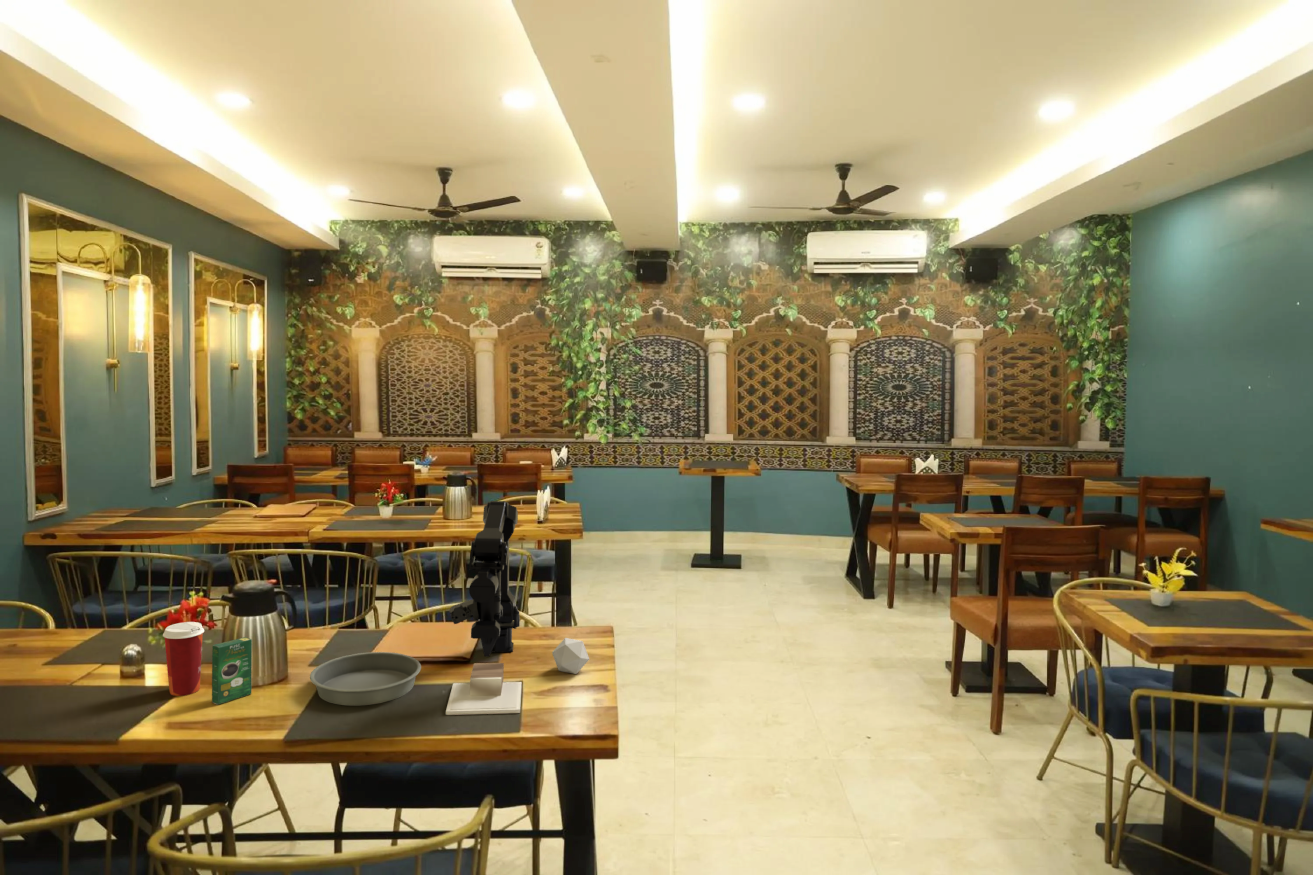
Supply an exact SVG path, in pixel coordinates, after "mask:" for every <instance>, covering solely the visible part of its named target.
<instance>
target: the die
mask: <svg viewBox="0 0 1313 875" xmlns="http://www.w3.org/2000/svg"><path fill="white" fill-rule="evenodd" d="M551 654H552V657H553V659H554V662H555V665H556V667H557V670H558V671H559V672H564V673H568V674H572V675H573V674H574V675H578V673H579V672H580V671H581V670H582V669H583V667H584V666H585V665H586V664H587V663H588V662H589V661H590V657H589V655H588V651H587V648H586V646H585V644H584V641H583V640H579V639H574V638H568V637H564V638H563V639H562V641H561V642H560V643H559V644H558V645H557V646H556V648H554V649H553V651H552V652H551Z"/></svg>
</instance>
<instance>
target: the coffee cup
mask: <svg viewBox="0 0 1313 875" xmlns="http://www.w3.org/2000/svg"><path fill="white" fill-rule="evenodd" d="M202 625H203V624H202V623H201V622H197V621H196V622H195V621H185V622H178V623H174V624H171V625H168V626H167V627H166V628H165V629H164V632H163V634H162V638H164V644H165V646H164V647H165V657H166V658H165V660H166V667H167V668H166V670H167V680H168V681H167V682H168V689H169V694H170V695H171V696H175V697H183V696H189V695H193V694H195V693H197V692H199V691H200V688H201V672H202V653H203V650H202V649H203V635H204V634H203V633H204V632H205V628H203V626H202Z"/></svg>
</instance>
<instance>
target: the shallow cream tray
mask: <svg viewBox="0 0 1313 875" xmlns="http://www.w3.org/2000/svg"><path fill="white" fill-rule="evenodd" d="M522 683H523V682H522V681H507V682H505V681H503V685H502V692H501V695H500V696H470V682H463V683H462V682H461V683H460V682H458V683H457V682H454V683H452V687H451V691H450V694H449V698H448V702H447V706H446V710H445V716H455V715H458V716H459V715H487V714H488V715H493V714H498V715H499V714H520V713H521V700H522Z"/></svg>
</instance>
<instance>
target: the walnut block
mask: <svg viewBox="0 0 1313 875" xmlns="http://www.w3.org/2000/svg"><path fill="white" fill-rule="evenodd" d="M504 665H505V664H504V662H487V663H486V662H483V663H482V662H481V663H480V662H479V663H478V662H476V663H473V666H472V671H471V672H470V673H471V675H470V678H469V683H470V696H500V695H501V692H502V685H503V682H504V673H505V672H504V671H505V670H504Z"/></svg>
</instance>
